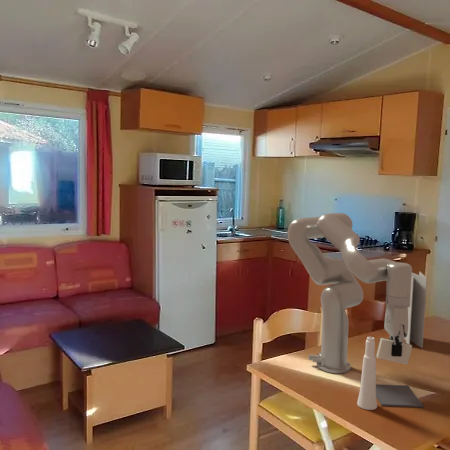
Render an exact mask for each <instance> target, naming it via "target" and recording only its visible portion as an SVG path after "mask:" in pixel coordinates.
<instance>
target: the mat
mask: <svg viewBox="0 0 450 450" xmlns="http://www.w3.org/2000/svg"><path fill="white" fill-rule="evenodd" d="M376 400H377V402H379V404H380V406H381V407H399V408H403V407H404V408H424V407H425V406H424V404H423V403H422V402H421V400H420V399H419V398H418V396H417V395H416V393H414V391H413V389H411V387H410V385H407V384H404V385H402V384H381V383H380V384H379V383H377V384H376Z"/></svg>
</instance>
